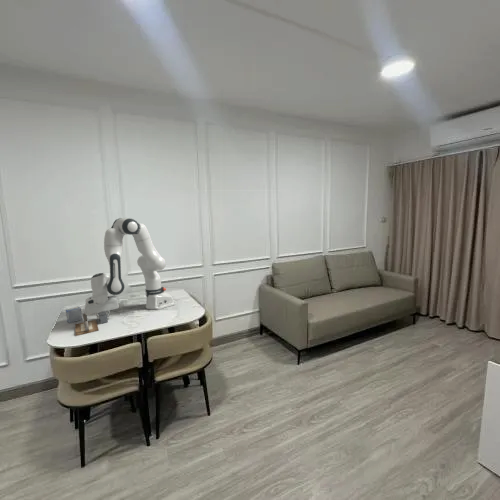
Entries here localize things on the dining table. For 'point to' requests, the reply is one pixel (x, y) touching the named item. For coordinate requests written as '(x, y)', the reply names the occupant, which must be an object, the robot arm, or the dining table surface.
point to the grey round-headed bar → (103, 317)
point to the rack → (86, 326)
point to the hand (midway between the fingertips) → (103, 317)
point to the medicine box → (73, 314)
